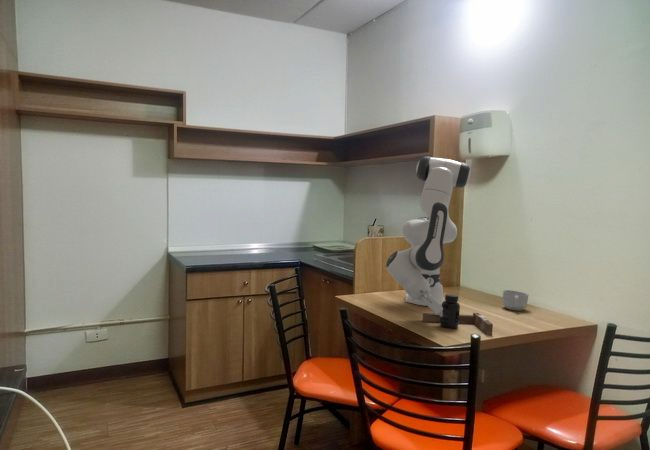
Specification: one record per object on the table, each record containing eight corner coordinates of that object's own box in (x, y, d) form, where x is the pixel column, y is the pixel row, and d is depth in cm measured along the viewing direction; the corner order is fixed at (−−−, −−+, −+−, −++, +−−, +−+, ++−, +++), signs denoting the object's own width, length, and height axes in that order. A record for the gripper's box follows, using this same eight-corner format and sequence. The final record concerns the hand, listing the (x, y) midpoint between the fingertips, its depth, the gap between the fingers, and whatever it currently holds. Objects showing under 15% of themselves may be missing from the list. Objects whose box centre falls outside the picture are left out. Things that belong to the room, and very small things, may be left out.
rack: (422, 320, 182) (423, 309, 182) (477, 322, 182) (478, 311, 182) (431, 332, 166) (432, 320, 166) (492, 335, 166) (492, 323, 166)
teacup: (503, 305, 216) (505, 288, 215) (528, 308, 210) (530, 291, 210) (498, 311, 204) (500, 293, 203) (525, 315, 198) (526, 296, 198)
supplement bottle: (461, 329, 172) (464, 297, 171) (444, 328, 171) (447, 297, 170) (452, 323, 179) (455, 293, 178) (436, 323, 177) (439, 293, 177)
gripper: (430, 288, 164) (456, 316, 164) (419, 278, 184) (442, 303, 185) (417, 300, 164) (442, 328, 164) (407, 288, 184) (430, 313, 185)
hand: (442, 315), depth 175 cm, fingers closed, pressing on supplement bottle
